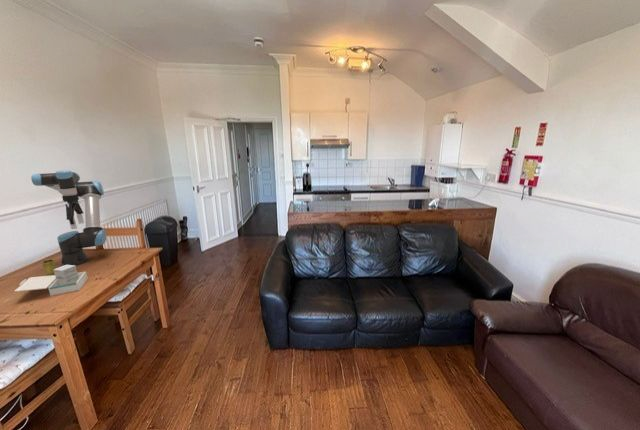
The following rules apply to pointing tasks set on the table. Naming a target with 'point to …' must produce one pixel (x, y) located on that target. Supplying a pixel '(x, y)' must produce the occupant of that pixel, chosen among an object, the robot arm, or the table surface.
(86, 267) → the table surface
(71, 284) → the box
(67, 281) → the supplement box
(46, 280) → the lid
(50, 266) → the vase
